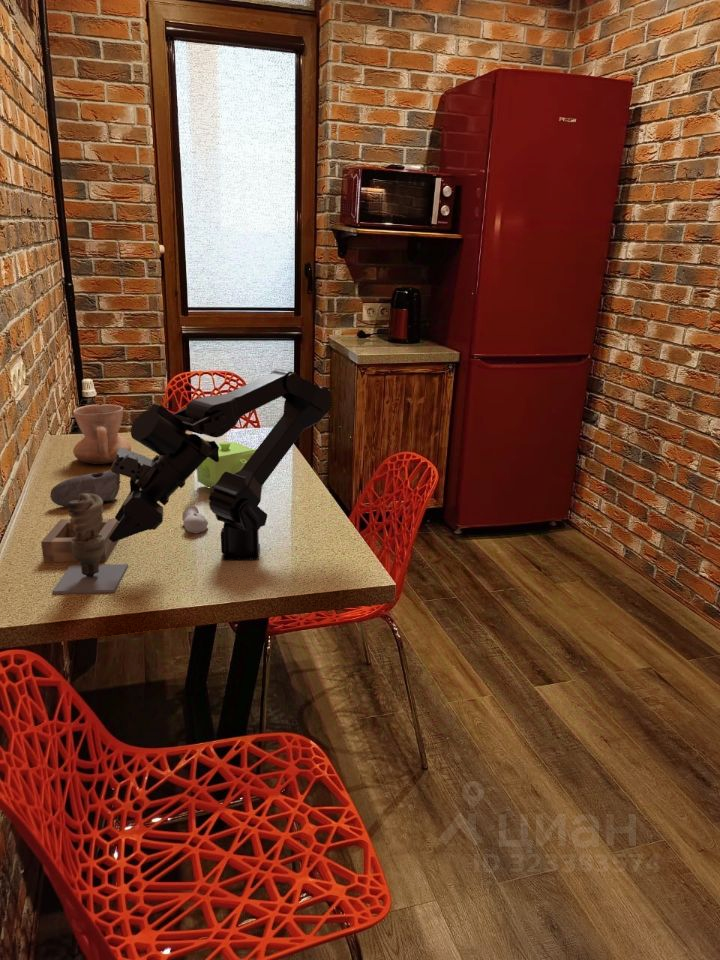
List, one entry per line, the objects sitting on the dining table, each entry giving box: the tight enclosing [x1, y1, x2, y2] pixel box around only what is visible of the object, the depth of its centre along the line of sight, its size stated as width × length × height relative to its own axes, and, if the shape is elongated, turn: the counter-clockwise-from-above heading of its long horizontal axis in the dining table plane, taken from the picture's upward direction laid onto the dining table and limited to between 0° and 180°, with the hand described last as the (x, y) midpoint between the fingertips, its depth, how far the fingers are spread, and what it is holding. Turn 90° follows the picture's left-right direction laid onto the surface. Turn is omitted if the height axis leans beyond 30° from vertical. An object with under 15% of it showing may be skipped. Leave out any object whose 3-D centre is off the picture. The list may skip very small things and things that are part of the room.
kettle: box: [195, 439, 257, 490], centre depth 166 cm, size 15×14×11 cm
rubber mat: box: [51, 563, 129, 595], centre depth 120 cm, size 10×10×1 cm
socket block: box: [40, 518, 119, 563], centre depth 131 cm, size 11×11×4 cm
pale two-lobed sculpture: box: [182, 504, 209, 534], centre depth 143 cm, size 4×8×5 cm
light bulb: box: [67, 493, 105, 577], centre depth 118 cm, size 6×6×15 cm
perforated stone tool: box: [49, 470, 121, 508], centre depth 154 cm, size 15×5×7 cm, turn 116°
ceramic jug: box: [72, 403, 132, 465], centre depth 183 cm, size 18×14×14 cm
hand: (114, 529), depth 118 cm, fingers open, 9 cm apart
